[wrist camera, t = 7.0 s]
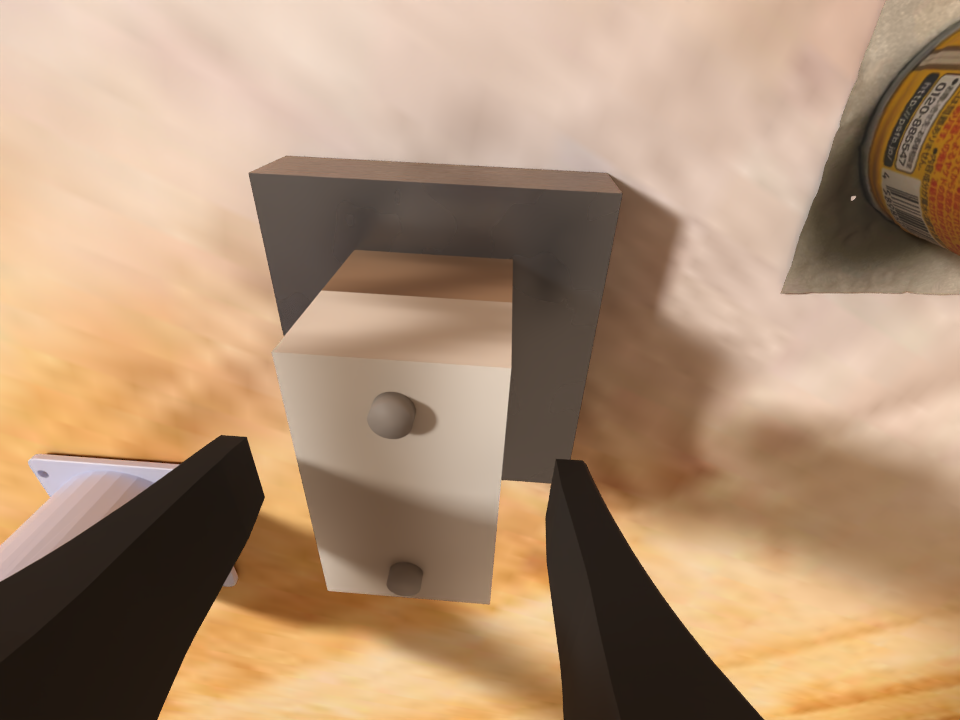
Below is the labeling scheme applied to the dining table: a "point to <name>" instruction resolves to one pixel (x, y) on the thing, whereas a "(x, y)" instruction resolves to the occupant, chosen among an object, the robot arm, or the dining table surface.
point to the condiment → (892, 166)
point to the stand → (469, 233)
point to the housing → (403, 421)
